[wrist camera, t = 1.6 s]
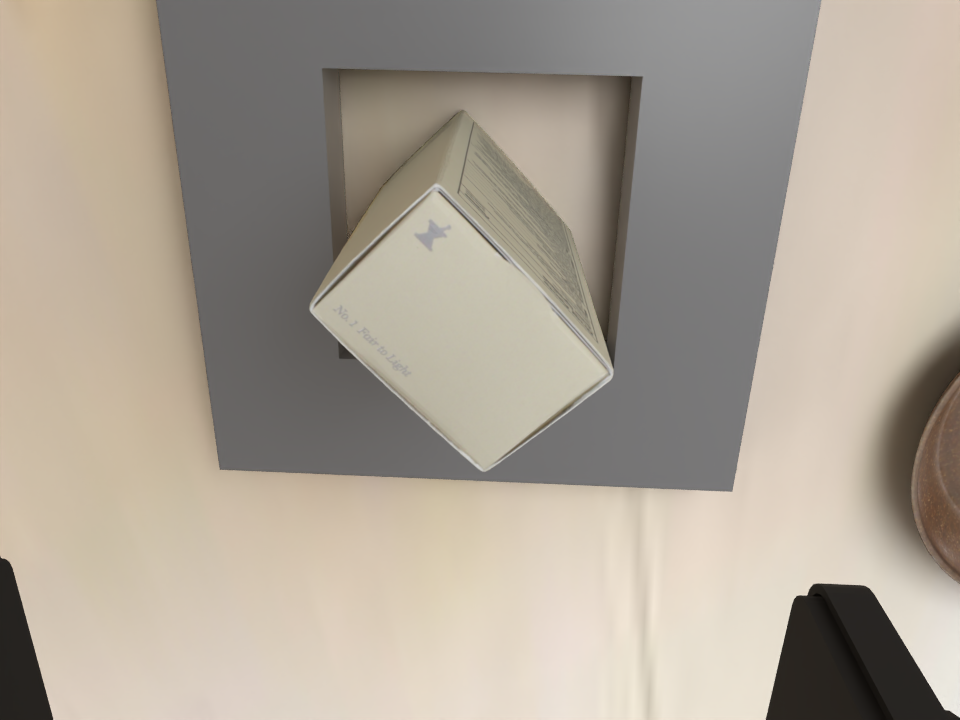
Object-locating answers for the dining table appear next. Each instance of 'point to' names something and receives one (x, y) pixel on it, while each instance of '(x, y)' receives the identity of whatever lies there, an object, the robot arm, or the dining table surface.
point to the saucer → (940, 482)
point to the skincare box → (468, 298)
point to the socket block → (639, 245)
